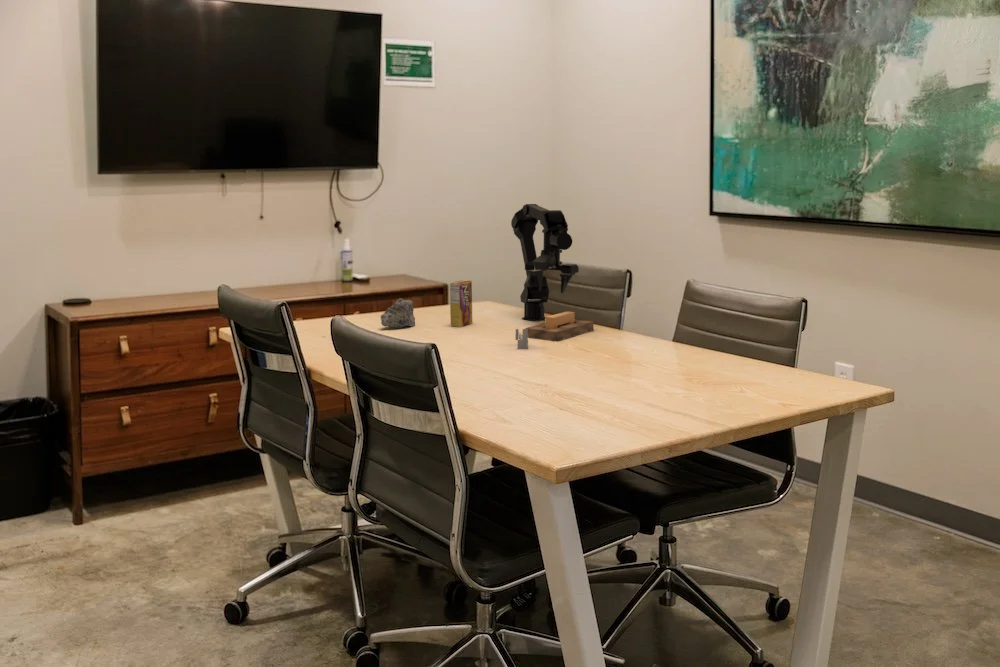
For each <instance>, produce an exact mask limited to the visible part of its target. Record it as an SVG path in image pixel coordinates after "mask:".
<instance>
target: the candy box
mask: <svg viewBox="0 0 1000 667" xmlns="http://www.w3.org/2000/svg"><path fill="white" fill-rule="evenodd" d="M472 281H473V280H470V279H468V280H466V279H461V280H458V281H454V282H450V283H449V303H450V304H449V306H450V307H449V308H450V310H449V311H450V313H449V314H450V327H453V328H454V327H456V328H462V327H464V326H468V325H471V324H473V290H472V288H473V287H472V286H473V285H472V283H473V282H472Z"/></svg>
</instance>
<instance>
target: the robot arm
mask: <svg viewBox="0 0 1000 667" xmlns="http://www.w3.org/2000/svg"><path fill="white" fill-rule="evenodd" d="M538 222H539V224H540V225H541V226H542V227H543V229H542V232H541V233H542V234H543V249H541V250H540V255H539V256H538V255H537V252H536V245H535V241H534V234H535V232H536V228H537V227H536V226H537V224H538ZM568 226H569V225H568V222H567V220H566V218H565V214H564V212H563V211H562V210H560V209H553V210H549V209H547V208H545V207H542V206H540V205H538V204H537V203H526V204H523V206H522V208H520V209H519V210H518V211H516V212H515V213H514V215H513V216H512V219H511V227H512V231H513V233H514V234H513V235H515V236H516V238H517V239H518V240H519V242H520V246H521V252H522V257H523V263H524V270H525V274H526V280H524V284H523V290H522V292H521V294H520V302H521V303H523V304H524V307H523V309H524V312H523V313H524V314H523V315H524V316H523V317H521V320H527V321H533V322H537V321H541V320H545V317H546V316H545V306H544V305H545V304H544V303H548V300H549V294H550V288H549V286H548V280H547V277H546V276H545V275H544V271H549V270H551V271H560V272H561V273H560V274H559V277H560V278H561V280H560V294H564V292H566V288H567V286H568V284H569V283H570V280H571V279H572V277H573V276H575V275H576V273H577V274H578V273H579V271H580V270H579V266H578V265H577V264H576V263H564V264H563V262H562V261H561V253H563V251H566V250H568V249H569V248H571V247H572V244H573V238H572V236H571V234H569V233H568V231H569V228H568Z"/></svg>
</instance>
